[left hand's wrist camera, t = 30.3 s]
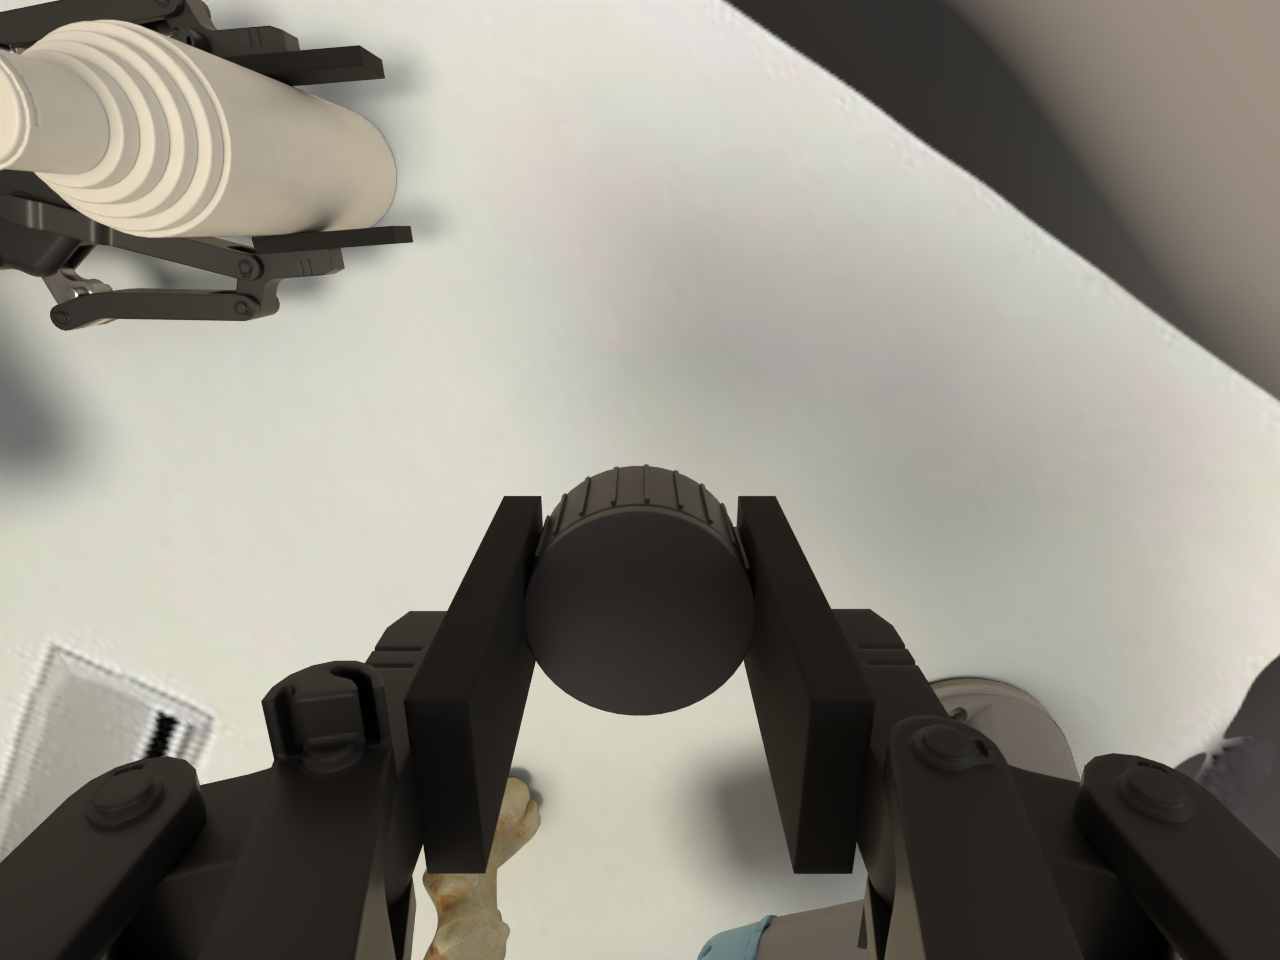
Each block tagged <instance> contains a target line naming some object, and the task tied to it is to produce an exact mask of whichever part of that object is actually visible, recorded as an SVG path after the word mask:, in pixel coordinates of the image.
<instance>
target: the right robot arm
mask: <svg viewBox="0 0 1280 960" xmlns="http://www.w3.org/2000/svg"><path fill="white" fill-rule="evenodd" d="M210 19H211V15H210V10H209V8H208V6H207V5H206V4H205V3H204V2H203V1H202V0H58V1H53V2H48V3H43V4H38V5H33V6H29V7H24V8H19V9H14V10H9V11H4V12H0V49H1V50H4V51H8V52H12V53H15V54H19V55H20V54H22V53H23V52H24V51H25V50H27V49H28V48H30V47H31V46H33V45H34V44H35V43H36V42H38V41H39V40H41V39H42V38H44V37H45V36H46V35H47V34H49V33H50V32H52V31H54V30H56V29H58V28H59V27H62V26H65V25H68V24H71V23H76V22H82V21H95V20H118V21H125V22H130V23H133V24H137V25H140V26H143V27H145V28H148V29H150V30H153V31H155V32H158V33H160V34H163V35H165V36H170V35H173V36H171V37H170V38H173V39H175V40H178V41H180V42H183V43H185V44H187V45H190V46H192V47H195V48H197V49H200V50H202V51H205V52H207V53H210V54H212V55H215V56H217V57H220V58H222V59H225V60H227V61H230V62H232V63H235V64H237V65H240V66H242V67H245V68H247V69H250V70H252V71H255V72H257V73H260V74H262V75H265V76H267V77H270V78H272V79H275V80H277V81H280V82H282V83H285V84H287V85H289V86H300V85H312V84H324V83H336V82H348V81H359V80H371V79H383V78H385V76H384V70H383V64H382V60H381V59H380V58H378V57H377V56H375V55H374V54H372V53H370V52H369V51H367V50H366V49H364V48H363V47H361V46H360V45H359V46H347V47H335V48H324V49H312V50H300V48H299V43H298V38H296V37H294V36H292V35H290V34H289V33H287V32H285V31H283V30H281V29H278V28H275V27H272V26H261V27H249V28H238V29H226V30H216V28H215V27H214V25H213V23H212V22H211V20H210ZM252 241H253V245H254V248H253V247H249V246H245V245H242V244H238V243H234V242H230V241H226V240H223V239H219V238H215V237H211V236H209V237H166V238H148V237H140V236H135V235H131V234H127V233H123V232H121V231H118V230H116V229H113V228H111V227H109V226H106V225H104V224H101V223H99V222H96V221H95V220H93V219H91V218H89V217H87V216H85V215H84V214H82V213H81V212H79V211H78V210H76V209H75V208H73V207H72V206H71V205H70V204H68V203H67V202H66V201H65V200H64V199H62V198H61V197H60V196H59V195H58V194H57V193H56V192H55V191H54V190H52V189H51V188H50V187H49V186H48V185H47V184H46V183H45V182H44V181H43V180H42V179H40V178H39V177H38V176H37V175H36V174H35V173H34V172H32V171H21V170H10V169H3V170H0V270H2V269H17V270H20V271H23V272H25V273H27V274H29V275H32V276H36V277H42V279H43V280H44V282H45V284H46V285H47V287H48V289H49V290H50V292H51V293H52V295H53V297H54V298H55V300H56V302H57V303H58V305H56V306H55V307H53V308H52V309H51V312H50V318H51V320H52V322H53V323H54V325H55V326H56V327H58V328H59V329H61V330H65V331H67V330H73V329H78V328H84V327H90V326H95V325H101V324H106V323H109V322H111V321H114V320H117V319H164V320H221V321H247V320H251V319H256V318H260V317H265V316H268V315H272V314H275V313H276V312H277V311H278V309H279V304H280V303H279V300H278V298H277V297H276V291H277V286H278V284H279V282H280V281H281V280H282V279H284V278H291V277H305V276H318V275H327V274H334V273H337V272H339V271H340V270H342V269H344V263H343V258H342V253H341V248H344V247H357V246H370V245H383V244H396V243H409V242H413V238H412V232H411V227H410V226H387V227H374V228H361V229H348V230H335V231H322V232H309V233H297V234H284V235H271V236H258V237H252ZM97 244H102V245H109V246H114V247H118V248H122V249H126V250H130V251H133V252H137V253H141V254H145V255H149V256H153V257H157V258H160V259H164V260H168V261H172V262H176V263H180V264H184V265H187V266H191V267H195V268H199V269H203V270H207V271H211V272H214V273H218V274H222V275H226V276H230V277H234V278H237V289H236V290H201V289H145V288H137V289H124V290H116V291H113V290H112V288H111V286H109V285H108V284H104V283H103V282H102V281H100V280H97V279H84V278H82V277H80V276H79V275H78V274H76V272H75V271H74V270H75V269H76V268H77V267H78V266H79V265H80V263H81V262H82V261H83V260H84V259H85V258H86V257H87V255H88V254H89V253H90V252H91V251H92V250H93V249H94V247H95V246H96V245H97Z"/></svg>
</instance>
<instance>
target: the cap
mask: <svg viewBox="0 0 1280 960" xmlns="http://www.w3.org/2000/svg"><path fill="white" fill-rule="evenodd" d="M533 559H535V561H534V564H533V568H532V571H531V574H530V578H529V581H528V584H527V588H526V592H525V596H524V603H525V620H526V635H527V642H528V644H529V647H530V650H531V652H532V654H533V656H534V658H535V659H536V661H537V663H538V665H539V666H540V667H541V669H542V670H543V671H544V673H545V674H546V675H547V676H548V677H549V678H550V679H551V680H552V681H553V682H554V683H555V684H556V685H557V686H558V687H559V688H561V689H562V690H563V691H564V692H566V693H567V694H569V695H570V696H572V697H573V698H575V699H577V700H578V701H581V702H583V703H585V704H587V705H589V706H591V707H594V708H597V709H600V710H603V711H607V712H612V713H616V714H624V715H655V714H663V713H667V712H672V711H676V710H679V709H682V708H685V707H688V706H690V705H692V704H694V703H696V702H698V701H700V700H702V699H704V698H705V697H707V696H709V695H710V694H712V693H713V692H715V691H716V690H717V689H718V688H720V687H721V686H722V685H723V684H724V683H725V682H726V681H727V680H728V679H729V678H730V677H731V676H732V675H733V674H734V673H735V671H736V670H737V669H738V667H739V666H740V664H741V663H742V661H743V659H744V658H745V656H746V654H747V652H748V650H749V647H750V644H751V642H752V639H753V628H754V612H755V596H754V591H753V587H752V584H751V580H750V578H749V574H748V572H751V569H750V566H749V563H748V560H747V557H746V554H745V551H744V547H743V544H742V541H741V538H740V535H739V532H738V529H737V527H733V525H732V522H731V520H730V518H729V516H728V514H727V511H726V507H725V505H724V504H723V503H721V504H720V503H719V501H718V500H717V499H716V498H715V497H714V496H713V495H712V494H711V493H710V492H709V491H708V490H707V489H705V485H704V484H702V483H701V484H698V483H697V482H695V481H694V480H692V479H690V478H688V477H686V476H684V475H682V474H679V473H678V471H676V470H674V471H671V470H667V469H663V468H658V467H650V466H649V465H644V466H629V467H621V468H618V467H614V469H612V470H608V471H605V472H602V473H600V474H597V475H595V476H593V477H591V478H590V477H587V478H586V479H585V481H584V482H582V483H580V484H579V485H578V486H576V487H575V488H574V489H572V490H571V491H570V492H569V493H568V494H566V493H565V494H564V495H562V499H561V501H560V503H559V504H558V505H557V506H556V508H555V509H554V511H553V512H552V514H551V516H548V515H547V517H546V520H545V523H544V526H543V529H542V532H541V536H540V539H539V542H538V545H537V548H536V552H535V555H534V558H533Z"/></svg>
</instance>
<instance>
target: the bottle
mask: <svg viewBox="0 0 1280 960" xmlns="http://www.w3.org/2000/svg"><path fill="white" fill-rule="evenodd" d="M3 169H10V170H21V171H32V172H34V173H35V174H36V175H37V176H38V177H39V178H40V179H42V180H43V181H44V182H45V183H46V184H47V185H48V186H49V187H50V188H51V189H52V190H54V191H55V192H56V193H57V194H58V195H59V196H60V197H61V198H62V199H64V200H65V201H66V202H67V203H68V204H70V205H71V206H72V207H73V208H75V209H76V210H78V211H79V212H81V213H82V214H84V215H85V216H87V217H89V218H91V219H93V220H95V221H96V222H99V223H101V224H104V225H106V226H109V227H111V228H113V229H116V230H118V231H121V232H123V233H127V234H131V235H135V236H140V237H148V238H166V237H209V236H253V235H284V234H297V233H309V232H322V231H335V230H348V229H361V228H370V227H371V226H373V225H374V224H376V223H377V222H378V221H379V220H380V219H381V218H382V217H383V216H384V215H385V214H386V212H387V211H388V209H389V207H390V206H391V203H392V201H393V198H394V194H395V190H396V167H395V163H394V158H393V156H392V153H391V150H390V148H389V146H388V144H387V142H386V140H385V139H384V137H383V136H382V134H381V133H380V132H379V131H378V129H377V128H376V127H375V126H374V125H373V124H372V123H371V122H369V121H368V120H367V119H366V118H364V117H363V116H361V115H359V114H358V113H356V112H354V111H351V110H349V109H347V108H344V107H342V106H339V105H337V104H334V103H332V102H329V101H327V100H324V99H322V98H319V97H317V96H314V95H312V94H309V93H307V92H304V91H302V90H299V89H297V88H294V87H292V86H289V85H287V84H285V83H282V82H280V81H277V80H275V79H272V78H270V77H267V76H265V75H262V74H260V73H257V72H255V71H252V70H250V69H247V68H245V67H242V66H240V65H237V64H235V63H232V62H230V61H227V60H225V59H222V58H220V57H217V56H215V55H212V54H210V53H207V52H205V51H202V50H200V49H197V48H195V47H192V46H190V45H187V44H185V43H183V42H180V41H178V40H175V39H173V38H170V37H168V36H165V35H163V34H160V33H158V32H155V31H153V30H150V29H148V28H145V27H143V26H140V25H137V24H133V23H130V22H125V21H118V20H95V21H82V22H76V23H71V24H68V25H65V26H62V27H59V28H58V29H56V30H54V31H52V32H50V33H49V34H47V35H46V36H45V37H44V38H42V39H41V40H39V41H38V42H36V43H35V44H34V45H33V46H31V47H30V48H28V49H27V50H25V51H24V52H23V53H22V54H20V55H19V54H15V53H12V52H8V51H4V50H1V49H0V170H3Z"/></svg>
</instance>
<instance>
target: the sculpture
mask: <svg viewBox="0 0 1280 960" xmlns="http://www.w3.org/2000/svg"><path fill="white" fill-rule="evenodd" d="M540 821H541V818H540V813H539V809H538V805H537V803H536V802H535V801H534V800H531V799H530V794H529V790H528V786H527V785H526V784H525V783H524V782H523V781H521V780H520V779H517V778H512V777H510V778H508V780H507V784H506V789H505V793H504V797H503V801H502V806H501V810H500V814H499V818H498V822H497V827H496V831H495V835H494V839H493V844H492V848H491V852H490V856H489V860H488V865H487V869H486V873H485V874H427V869H426V870H425V872H424V875H423V884H424V886H425V889H426V890H427V892H428V894H429V896H430V898H431V899H432V901H433V903H434V905H435V907H436V910H437V913H438V926H437V931H436V934H435V936H434V939H433V941H432V943H431V945H430V947H429V948H428V950H427V953H426V955H425V957H424V960H504V958H505V954H506V941H507V938H508V936H509V934H510V928H509V926H508V925H507V924H506V923H504V922H503V921H502V917H501V913H500V911H499V910H498V909H497V869H498V868H499V867H500V866H501V865H502V864H504V863H505V862H506V861H507V860H508V859H509V858H511V857H512V856H513V855H514V854H515V853H516V852H517V851H518V850H520V849H521V848H522V847H523V846H524V845H525V844H526V843H527V842H528V841H529V840H530V839H531V838H532V837H533V836H534V835H535V833H536V832H537V830H538V828H539V825H540Z"/></svg>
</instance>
